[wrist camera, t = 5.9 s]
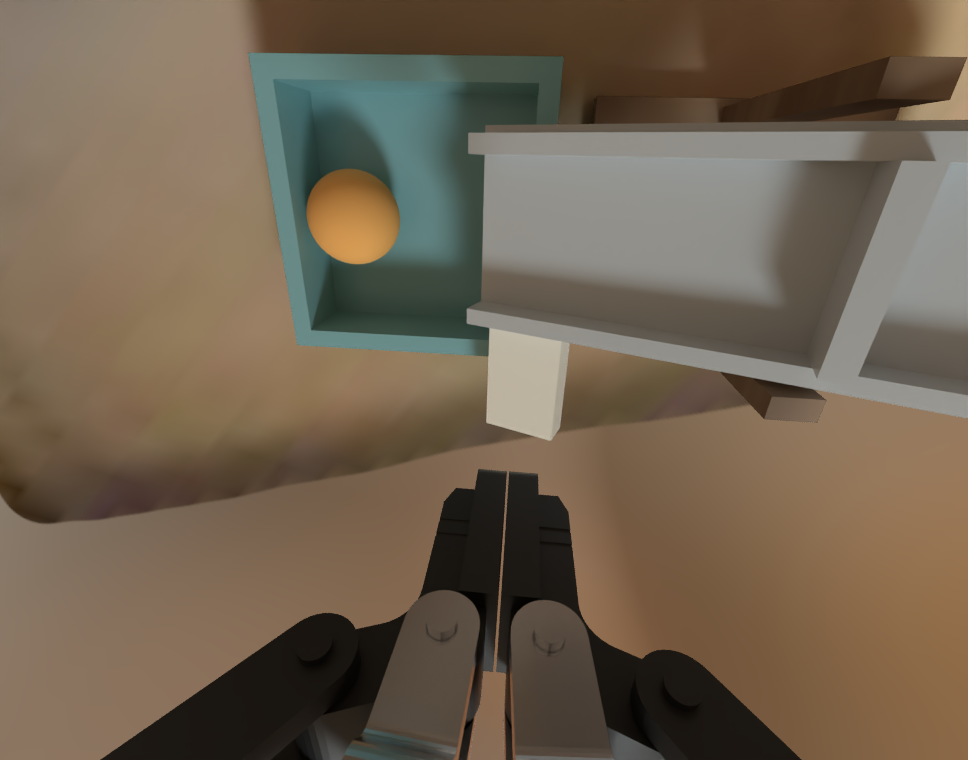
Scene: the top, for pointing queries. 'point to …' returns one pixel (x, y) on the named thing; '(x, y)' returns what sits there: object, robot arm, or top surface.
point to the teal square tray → (393, 184)
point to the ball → (353, 216)
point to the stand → (824, 99)
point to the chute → (727, 256)
